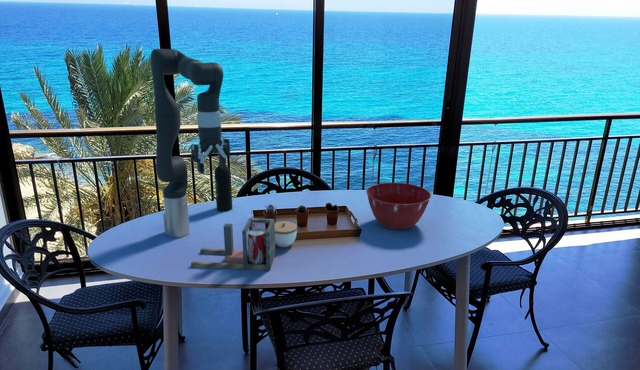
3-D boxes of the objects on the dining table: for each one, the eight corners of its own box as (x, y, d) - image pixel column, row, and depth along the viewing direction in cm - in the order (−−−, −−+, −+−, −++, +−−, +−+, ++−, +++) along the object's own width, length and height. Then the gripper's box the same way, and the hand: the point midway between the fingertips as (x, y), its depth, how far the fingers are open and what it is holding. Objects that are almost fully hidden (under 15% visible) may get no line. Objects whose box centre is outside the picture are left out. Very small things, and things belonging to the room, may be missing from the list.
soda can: (265, 266, 164) (264, 236, 161) (246, 265, 165) (245, 235, 161) (268, 257, 171) (267, 228, 167) (250, 256, 171) (249, 227, 168)
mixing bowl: (400, 243, 185) (403, 208, 180) (351, 222, 205) (353, 190, 200) (440, 225, 202) (444, 193, 197) (391, 208, 223) (393, 178, 218)
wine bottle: (224, 212, 213) (221, 151, 204) (213, 209, 217) (209, 149, 207) (235, 207, 219) (232, 148, 210) (224, 204, 223) (221, 146, 214)
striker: (224, 263, 165) (222, 228, 161) (228, 255, 171) (226, 221, 166) (246, 264, 165) (245, 229, 160) (249, 256, 170) (248, 222, 166)
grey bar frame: (191, 266, 163) (188, 229, 158) (201, 251, 174) (198, 216, 170) (270, 270, 162) (269, 232, 157) (275, 254, 173) (274, 219, 168)
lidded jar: (272, 237, 187) (272, 217, 185) (297, 238, 187) (297, 217, 184) (268, 249, 177) (268, 227, 174) (295, 250, 177) (295, 228, 174)
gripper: (220, 120, 157) (222, 164, 162) (184, 125, 147) (188, 172, 152) (233, 123, 152) (235, 168, 157) (197, 128, 142) (200, 177, 147)
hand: (212, 170), depth 155 cm, fingers open, 8 cm apart
